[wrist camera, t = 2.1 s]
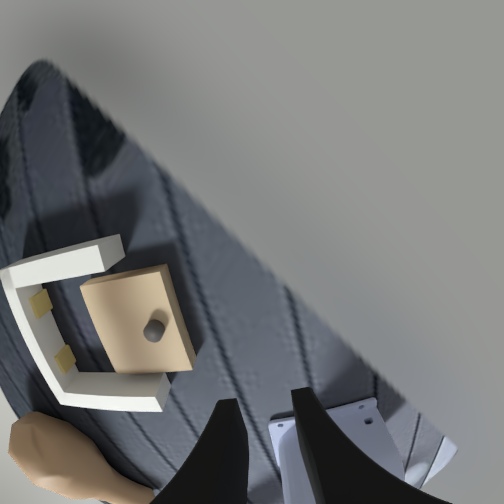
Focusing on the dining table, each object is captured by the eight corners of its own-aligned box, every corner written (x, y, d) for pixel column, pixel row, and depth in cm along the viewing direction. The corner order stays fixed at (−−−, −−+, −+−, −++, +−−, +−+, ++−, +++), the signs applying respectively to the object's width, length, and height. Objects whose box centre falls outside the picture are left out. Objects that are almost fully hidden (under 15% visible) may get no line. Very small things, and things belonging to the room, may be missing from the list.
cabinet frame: (119, 233, 16) (97, 244, 14) (170, 385, 20) (162, 411, 17) (21, 259, 17) (-2, 270, 14) (74, 384, 20) (60, 404, 17)
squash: (41, 382, 20) (14, 443, 12) (174, 470, 27) (181, 525, 19) (10, 414, 20) (-11, 463, 12) (127, 489, 27) (127, 536, 18)
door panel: (168, 261, 18) (155, 276, 15) (197, 353, 19) (190, 377, 17) (93, 276, 18) (73, 291, 15) (126, 359, 19) (113, 380, 17)
